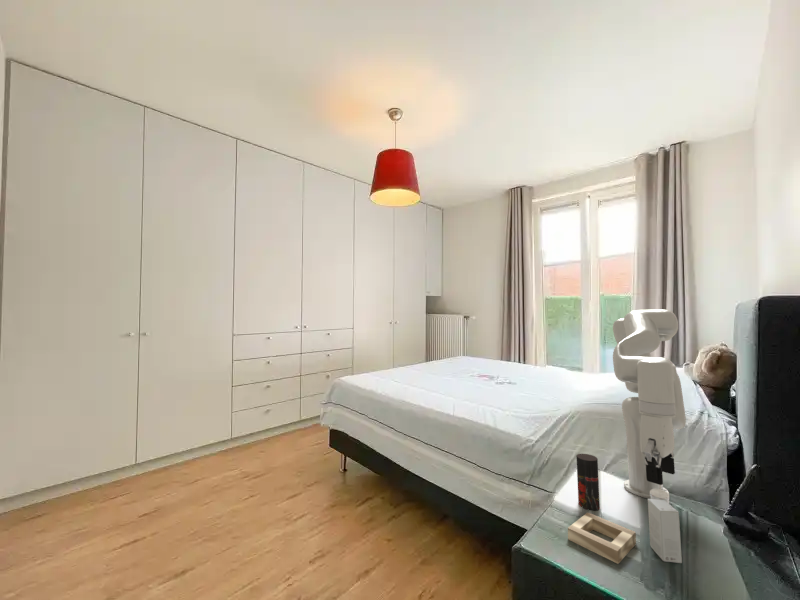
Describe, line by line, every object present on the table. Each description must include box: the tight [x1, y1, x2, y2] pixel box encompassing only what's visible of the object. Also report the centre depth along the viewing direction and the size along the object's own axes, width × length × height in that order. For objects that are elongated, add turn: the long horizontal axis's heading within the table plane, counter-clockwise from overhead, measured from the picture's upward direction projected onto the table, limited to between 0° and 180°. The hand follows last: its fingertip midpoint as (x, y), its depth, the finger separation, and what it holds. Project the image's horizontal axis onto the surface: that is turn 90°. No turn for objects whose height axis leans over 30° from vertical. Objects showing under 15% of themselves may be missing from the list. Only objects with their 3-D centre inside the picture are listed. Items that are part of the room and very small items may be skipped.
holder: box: [567, 512, 637, 565], centre depth 90 cm, size 12×12×3 cm
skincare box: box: [647, 498, 683, 564], centre depth 85 cm, size 6×4×12 cm
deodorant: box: [576, 453, 601, 512], centre depth 108 cm, size 6×6×15 cm
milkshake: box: [650, 485, 670, 504], centre depth 99 cm, size 4×5×10 cm
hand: (661, 477), depth 86 cm, fingers open, 9 cm apart
